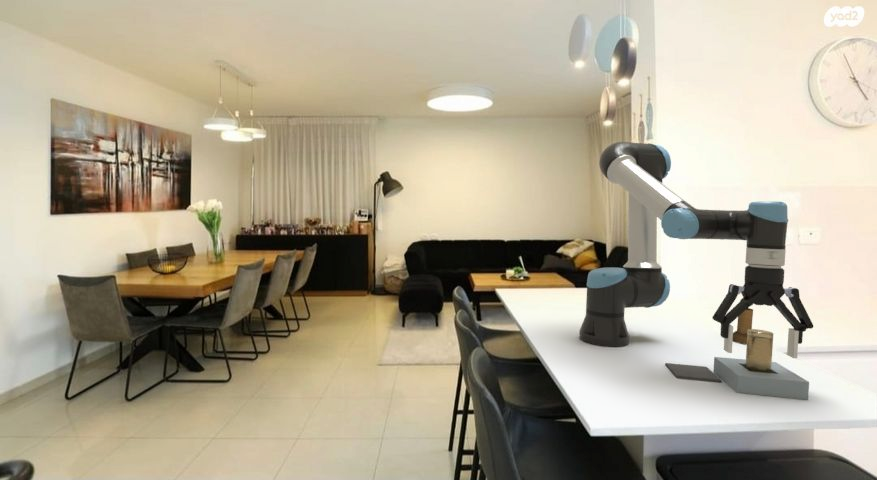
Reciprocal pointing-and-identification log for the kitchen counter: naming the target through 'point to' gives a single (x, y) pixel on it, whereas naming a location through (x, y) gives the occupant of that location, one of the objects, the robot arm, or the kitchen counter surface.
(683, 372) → the rubber pad
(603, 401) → the kitchen counter surface
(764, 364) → the tan cylinder
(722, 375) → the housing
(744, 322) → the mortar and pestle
